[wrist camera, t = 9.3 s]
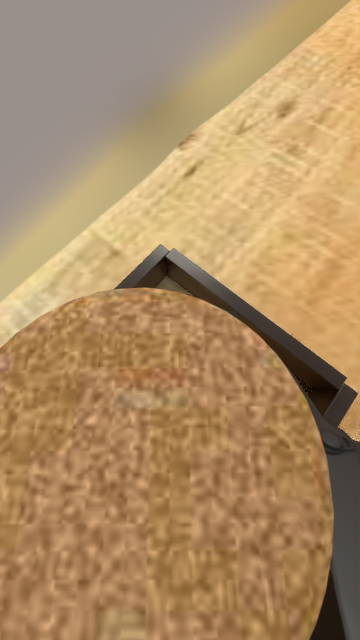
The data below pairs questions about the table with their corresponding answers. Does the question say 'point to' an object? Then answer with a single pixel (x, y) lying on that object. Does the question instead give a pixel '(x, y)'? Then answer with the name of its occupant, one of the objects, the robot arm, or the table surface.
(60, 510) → the bottle
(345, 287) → the table surface
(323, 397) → the dark brown square frame
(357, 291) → the table surface
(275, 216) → the table surface
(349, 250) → the table surface
